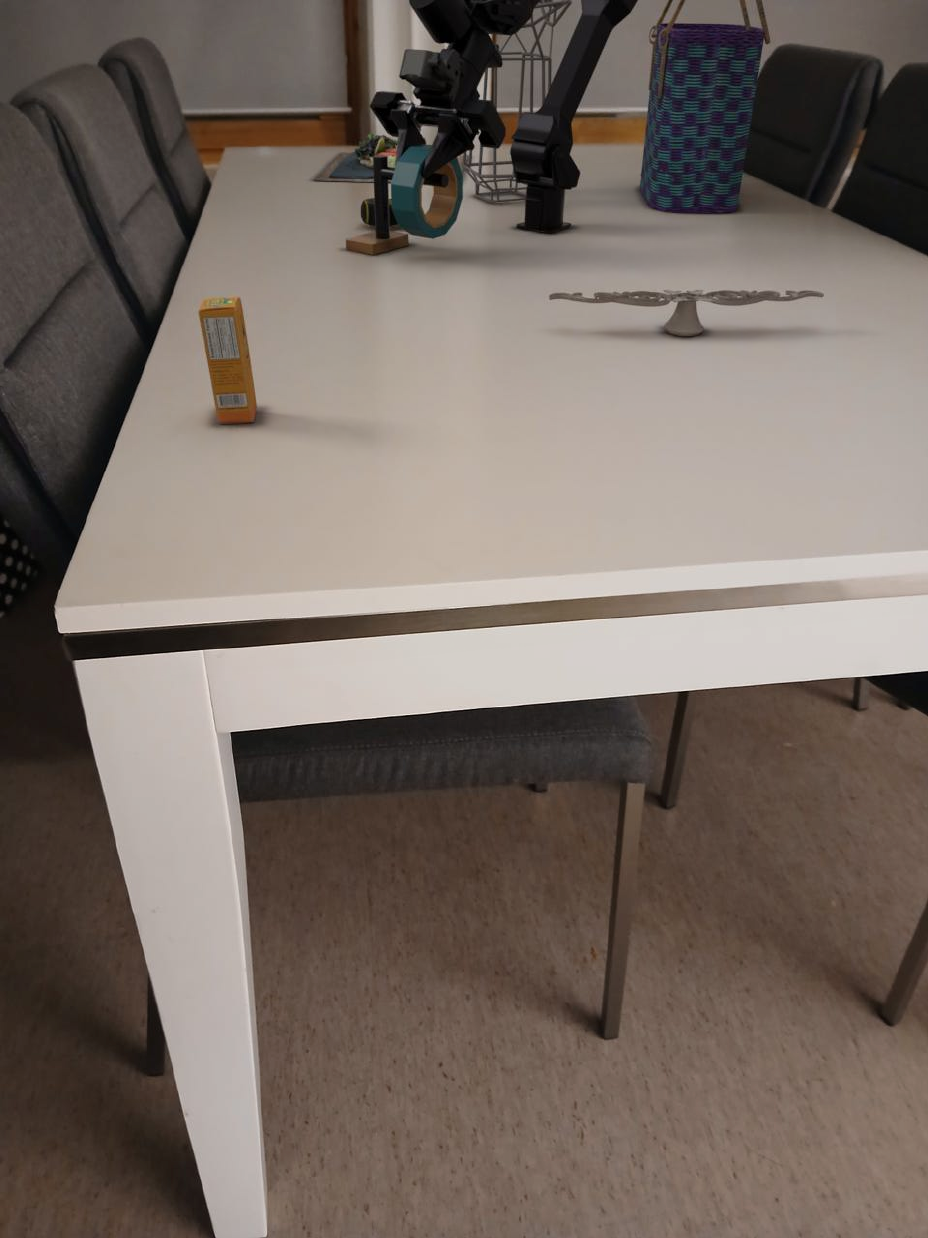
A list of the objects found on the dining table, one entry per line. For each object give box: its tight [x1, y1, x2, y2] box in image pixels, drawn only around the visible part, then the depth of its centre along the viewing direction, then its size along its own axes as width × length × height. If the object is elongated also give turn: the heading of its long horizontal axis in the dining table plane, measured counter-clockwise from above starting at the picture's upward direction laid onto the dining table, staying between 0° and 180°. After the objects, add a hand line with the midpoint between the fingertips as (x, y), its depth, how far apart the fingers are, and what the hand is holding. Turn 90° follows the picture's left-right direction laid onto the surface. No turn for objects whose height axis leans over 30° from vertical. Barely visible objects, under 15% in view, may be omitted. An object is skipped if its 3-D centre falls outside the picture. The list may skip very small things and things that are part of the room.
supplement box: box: [197, 296, 258, 425], centre depth 82 cm, size 3×3×10 cm
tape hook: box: [373, 155, 449, 239], centre depth 132 cm, size 2×12×12 cm, turn 55°
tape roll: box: [390, 143, 464, 239], centre depth 129 cm, size 11×4×11 cm, turn 145°
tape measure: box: [360, 197, 399, 228], centre depth 149 cm, size 7×7×4 cm
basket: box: [639, 0, 771, 215], centre depth 161 cm, size 26×18×40 cm
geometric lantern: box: [462, 0, 573, 204], centre depth 160 cm, size 16×16×35 cm
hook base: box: [345, 230, 409, 256], centre depth 138 cm, size 8×5×2 cm, turn 145°
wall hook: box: [548, 289, 825, 337], centre depth 106 cm, size 5×30×4 cm, turn 94°
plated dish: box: [314, 132, 469, 183], centre depth 194 cm, size 35×28×7 cm
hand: (410, 174), depth 125 cm, fingers closed on tape roll, 4 cm apart
